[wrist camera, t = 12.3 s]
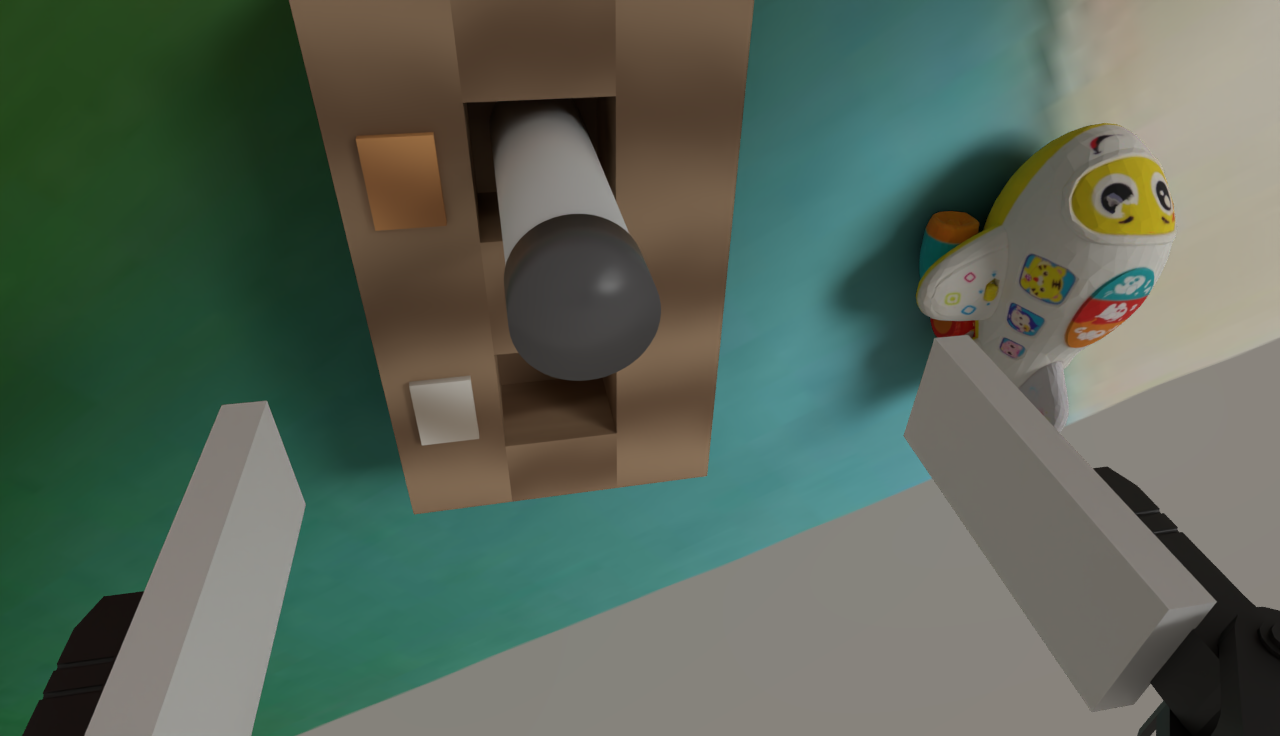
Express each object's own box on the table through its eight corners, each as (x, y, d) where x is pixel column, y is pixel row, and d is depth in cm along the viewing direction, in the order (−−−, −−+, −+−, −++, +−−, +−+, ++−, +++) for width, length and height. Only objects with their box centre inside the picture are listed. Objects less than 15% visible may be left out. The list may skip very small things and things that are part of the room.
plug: (482, 80, 28) (501, 257, 17) (582, 76, 28) (663, 244, 17) (492, 177, 30) (514, 388, 19) (585, 171, 31) (658, 372, 20)
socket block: (316, -48, 26) (283, -14, 21) (706, -51, 28) (759, -22, 23) (419, 429, 39) (413, 519, 34) (678, 400, 41) (708, 480, 36)
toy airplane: (928, 471, 36) (1054, 189, 27) (853, 359, 43) (933, 100, 33) (1157, 441, 39) (1347, 174, 29) (1053, 340, 45) (1180, 94, 36)
